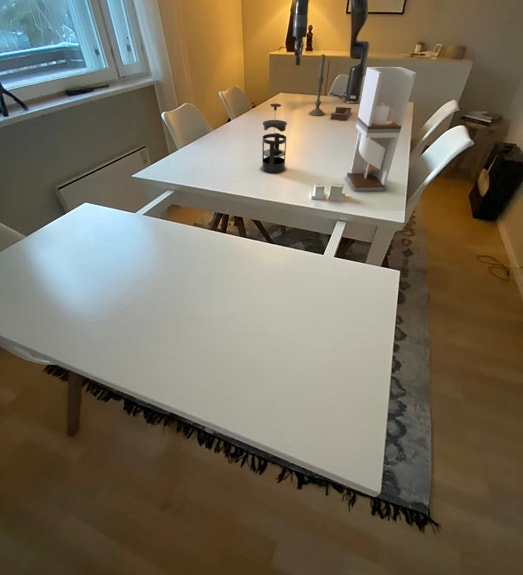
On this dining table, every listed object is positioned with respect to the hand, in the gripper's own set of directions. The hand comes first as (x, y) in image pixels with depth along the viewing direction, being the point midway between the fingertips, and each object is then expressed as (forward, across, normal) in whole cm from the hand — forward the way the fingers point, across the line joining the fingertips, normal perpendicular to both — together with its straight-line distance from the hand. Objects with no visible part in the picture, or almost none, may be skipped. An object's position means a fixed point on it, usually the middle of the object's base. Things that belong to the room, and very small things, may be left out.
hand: (297, 65), depth 181 cm
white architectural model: (+24, +94, +52) cm, 111 cm away
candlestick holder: (+24, 0, +14) cm, 28 cm away
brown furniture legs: (+24, 0, +29) cm, 37 cm away
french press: (+24, +91, +16) cm, 96 cm away
